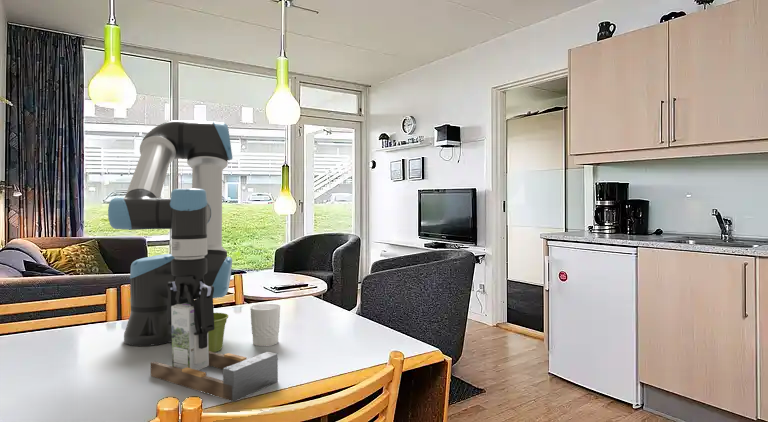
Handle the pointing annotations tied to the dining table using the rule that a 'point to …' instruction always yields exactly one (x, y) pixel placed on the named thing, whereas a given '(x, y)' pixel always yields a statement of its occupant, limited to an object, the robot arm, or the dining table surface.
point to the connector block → (251, 375)
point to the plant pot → (217, 332)
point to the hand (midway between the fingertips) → (190, 359)
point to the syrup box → (184, 337)
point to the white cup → (265, 324)
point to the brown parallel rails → (198, 374)
